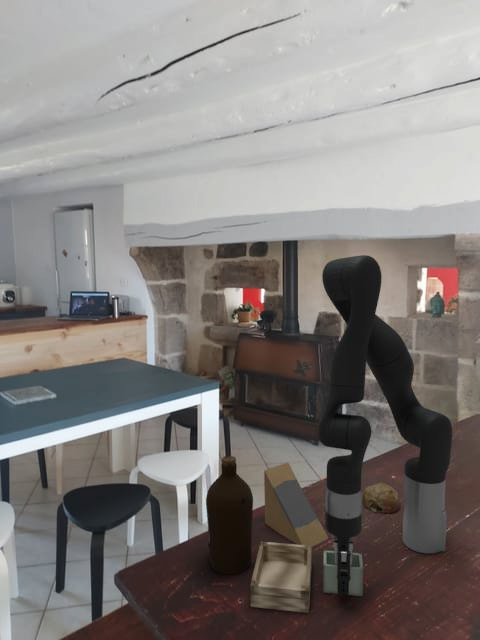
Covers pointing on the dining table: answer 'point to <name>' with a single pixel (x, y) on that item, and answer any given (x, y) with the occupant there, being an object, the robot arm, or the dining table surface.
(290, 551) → the big crate
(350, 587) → the box
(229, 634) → the dining table surface
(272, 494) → the sandwich container
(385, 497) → the bread roll
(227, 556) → the olive oil
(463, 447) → the dining table surface
